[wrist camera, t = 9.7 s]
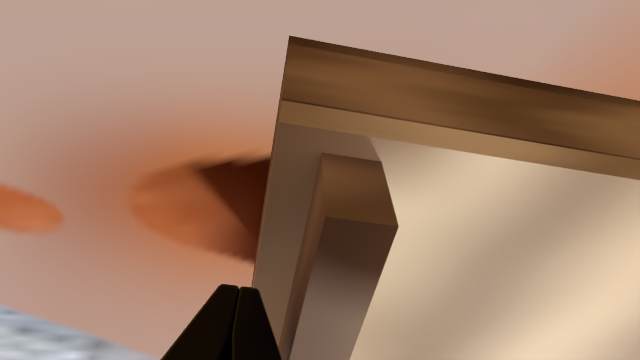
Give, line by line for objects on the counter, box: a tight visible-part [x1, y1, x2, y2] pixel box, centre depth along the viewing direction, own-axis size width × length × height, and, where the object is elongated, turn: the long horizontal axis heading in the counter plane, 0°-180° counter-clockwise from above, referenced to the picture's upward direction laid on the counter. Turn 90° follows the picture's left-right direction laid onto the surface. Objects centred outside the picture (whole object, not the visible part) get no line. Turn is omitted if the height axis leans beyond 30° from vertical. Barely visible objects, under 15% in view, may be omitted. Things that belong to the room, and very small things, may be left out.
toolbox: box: [251, 36, 640, 288], centre depth 14 cm, size 12×8×4 cm, turn 79°
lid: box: [253, 100, 640, 360], centre depth 11 cm, size 12×8×3 cm, turn 79°
